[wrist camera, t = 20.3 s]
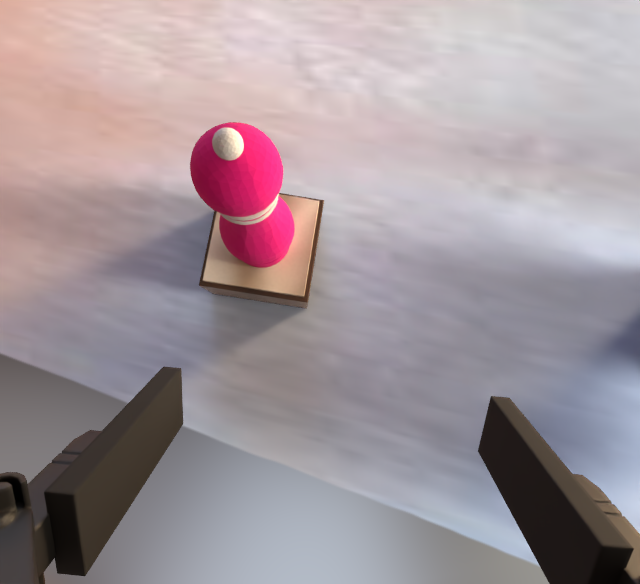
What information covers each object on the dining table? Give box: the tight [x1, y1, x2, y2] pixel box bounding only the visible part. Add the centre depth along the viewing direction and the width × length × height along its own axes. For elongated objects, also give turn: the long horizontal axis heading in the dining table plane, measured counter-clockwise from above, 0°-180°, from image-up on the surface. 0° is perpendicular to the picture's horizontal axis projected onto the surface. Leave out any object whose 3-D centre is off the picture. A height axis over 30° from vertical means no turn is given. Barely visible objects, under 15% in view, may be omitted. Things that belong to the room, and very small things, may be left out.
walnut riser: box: [199, 193, 324, 308], centre depth 43 cm, size 12×12×7 cm
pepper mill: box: [190, 122, 295, 268], centre depth 30 cm, size 7×7×20 cm
